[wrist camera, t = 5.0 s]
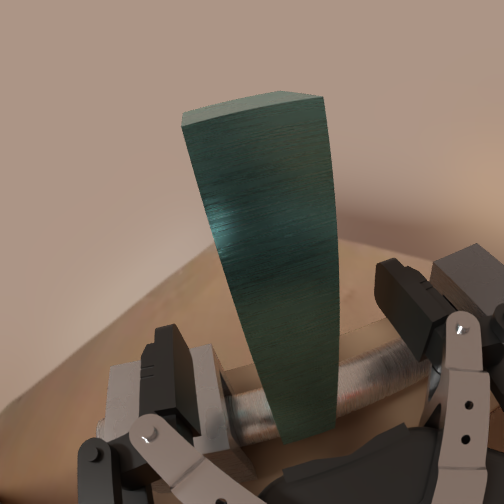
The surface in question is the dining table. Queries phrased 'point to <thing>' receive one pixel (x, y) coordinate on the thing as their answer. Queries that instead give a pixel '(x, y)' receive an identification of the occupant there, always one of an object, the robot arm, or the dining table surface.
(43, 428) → the dining table surface
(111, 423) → the sleeve and socket
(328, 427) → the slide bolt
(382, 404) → the walnut board
